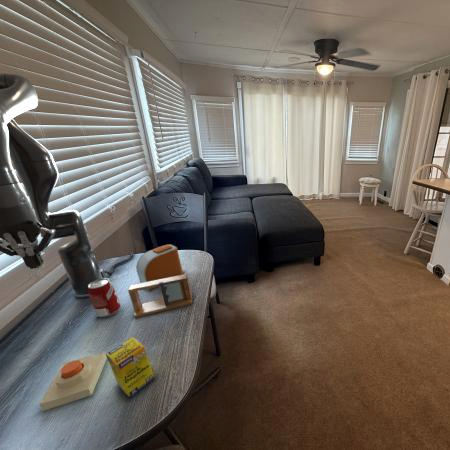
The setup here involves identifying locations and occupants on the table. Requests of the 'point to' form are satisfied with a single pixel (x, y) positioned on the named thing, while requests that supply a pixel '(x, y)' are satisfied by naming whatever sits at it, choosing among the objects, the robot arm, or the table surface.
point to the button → (71, 369)
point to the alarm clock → (159, 264)
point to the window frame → (159, 304)
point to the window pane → (172, 292)
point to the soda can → (103, 297)
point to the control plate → (74, 383)
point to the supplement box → (130, 366)
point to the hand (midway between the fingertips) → (36, 267)
